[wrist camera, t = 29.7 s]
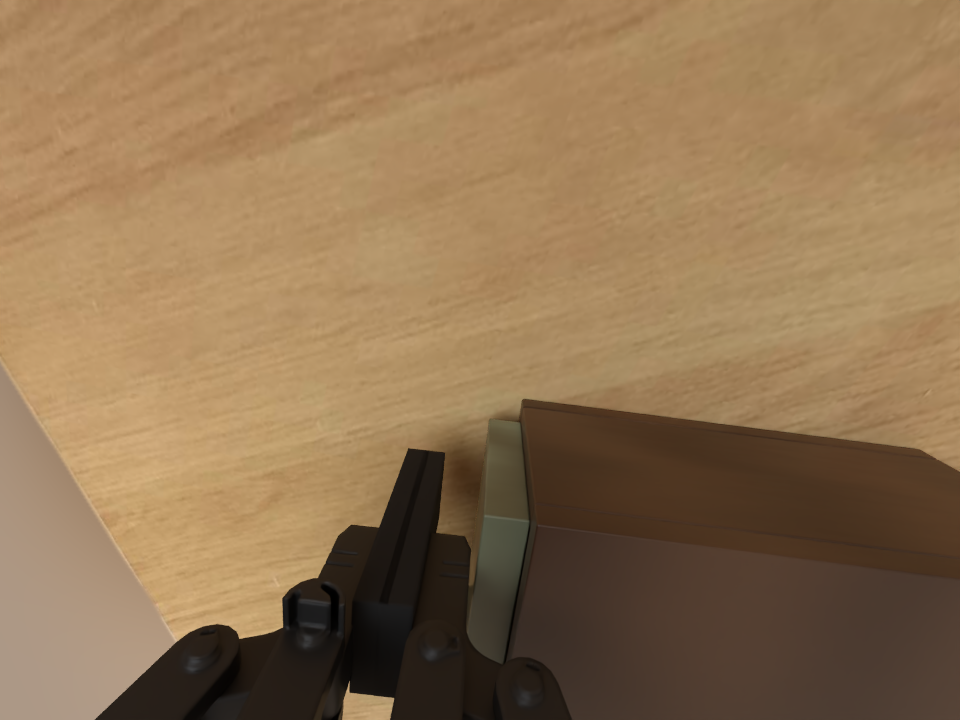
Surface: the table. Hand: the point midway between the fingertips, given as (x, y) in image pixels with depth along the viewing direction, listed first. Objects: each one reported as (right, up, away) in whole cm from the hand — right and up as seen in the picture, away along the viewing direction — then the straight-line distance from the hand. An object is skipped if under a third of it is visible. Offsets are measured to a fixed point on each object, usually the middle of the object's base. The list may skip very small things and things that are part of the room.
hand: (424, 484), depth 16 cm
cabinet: (+11, -5, +3) cm, 12 cm away
